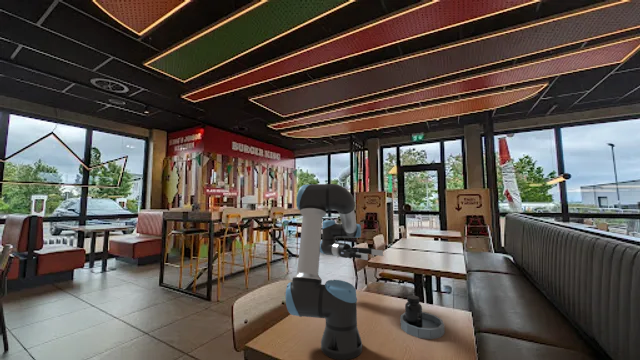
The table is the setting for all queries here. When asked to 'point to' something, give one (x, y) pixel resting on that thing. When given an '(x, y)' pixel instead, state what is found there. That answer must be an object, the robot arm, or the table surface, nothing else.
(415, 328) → the bowl
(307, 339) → the table surface
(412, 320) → the supplement bottle
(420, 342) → the table surface
